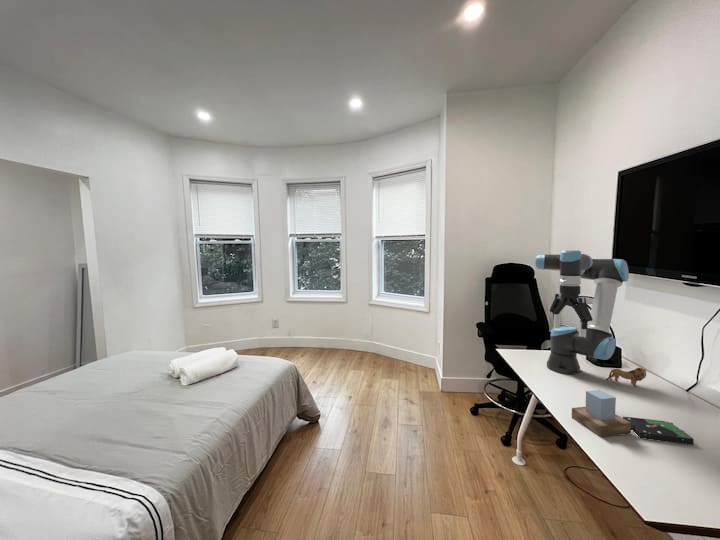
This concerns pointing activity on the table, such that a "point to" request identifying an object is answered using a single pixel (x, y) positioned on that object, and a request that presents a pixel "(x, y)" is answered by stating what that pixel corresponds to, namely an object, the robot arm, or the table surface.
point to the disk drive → (659, 430)
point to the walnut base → (601, 423)
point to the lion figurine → (628, 375)
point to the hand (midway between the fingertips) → (569, 331)
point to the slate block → (600, 405)
